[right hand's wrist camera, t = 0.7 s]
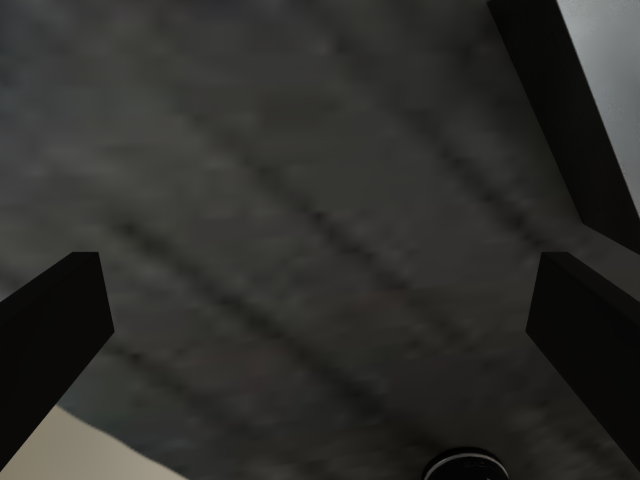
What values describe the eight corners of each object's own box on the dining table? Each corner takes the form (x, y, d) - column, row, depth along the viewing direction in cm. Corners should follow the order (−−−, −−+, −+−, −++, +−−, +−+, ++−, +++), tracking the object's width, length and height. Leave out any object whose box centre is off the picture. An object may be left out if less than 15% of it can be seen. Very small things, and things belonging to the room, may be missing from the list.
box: (486, 2, 30) (546, -26, 22) (561, -48, 29) (653, -96, 21) (583, 224, 37) (657, 265, 28) (648, 189, 35) (745, 222, 27)
